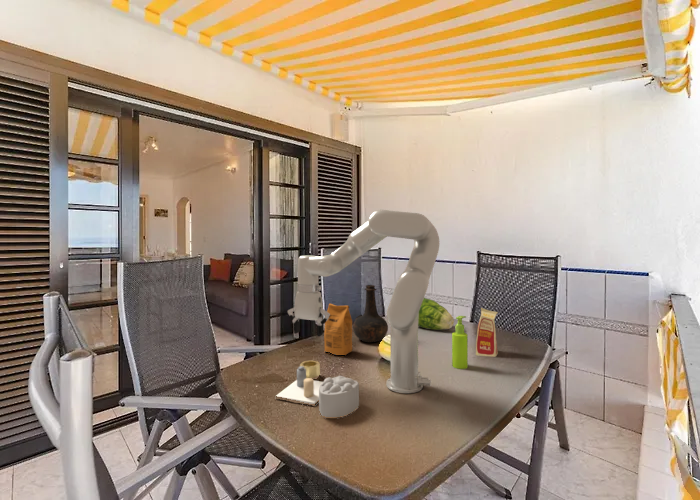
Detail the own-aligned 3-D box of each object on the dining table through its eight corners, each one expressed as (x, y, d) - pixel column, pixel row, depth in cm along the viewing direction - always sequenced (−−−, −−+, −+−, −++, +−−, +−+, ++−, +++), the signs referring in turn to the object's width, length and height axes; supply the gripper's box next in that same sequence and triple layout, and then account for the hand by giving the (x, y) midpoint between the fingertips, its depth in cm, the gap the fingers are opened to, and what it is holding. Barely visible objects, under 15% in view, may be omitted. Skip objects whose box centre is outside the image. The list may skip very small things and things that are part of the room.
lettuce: (448, 343, 189) (441, 326, 179) (412, 328, 205) (404, 311, 195) (462, 320, 196) (456, 302, 187) (426, 307, 212) (419, 290, 203)
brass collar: (322, 374, 133) (322, 361, 133) (314, 381, 127) (313, 368, 127) (306, 372, 136) (306, 359, 136) (297, 379, 129) (297, 365, 129)
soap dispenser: (471, 365, 141) (471, 316, 140) (463, 370, 136) (463, 319, 135) (457, 361, 145) (457, 313, 144) (449, 366, 140) (449, 316, 139)
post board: (333, 386, 122) (333, 365, 122) (314, 406, 108) (313, 382, 108) (298, 381, 127) (298, 361, 127) (275, 399, 113) (275, 376, 113)
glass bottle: (365, 333, 190) (364, 281, 189) (394, 338, 179) (394, 284, 178) (345, 341, 175) (345, 285, 174) (376, 347, 165) (375, 288, 164)
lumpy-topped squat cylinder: (363, 404, 109) (362, 377, 109) (338, 423, 99) (337, 393, 98) (336, 396, 115) (336, 370, 115) (310, 413, 105) (310, 384, 104)
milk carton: (475, 355, 153) (475, 309, 152) (476, 348, 161) (476, 305, 161) (498, 357, 149) (498, 311, 149) (498, 350, 158) (498, 306, 157)
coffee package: (334, 347, 166) (333, 301, 165) (355, 351, 159) (355, 303, 158) (320, 353, 158) (319, 304, 157) (342, 358, 151) (341, 307, 150)
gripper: (333, 288, 130) (333, 333, 131) (293, 286, 137) (293, 329, 137) (324, 291, 123) (325, 339, 124) (282, 288, 130) (283, 334, 130)
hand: (308, 334), depth 131 cm, fingers open, 9 cm apart
